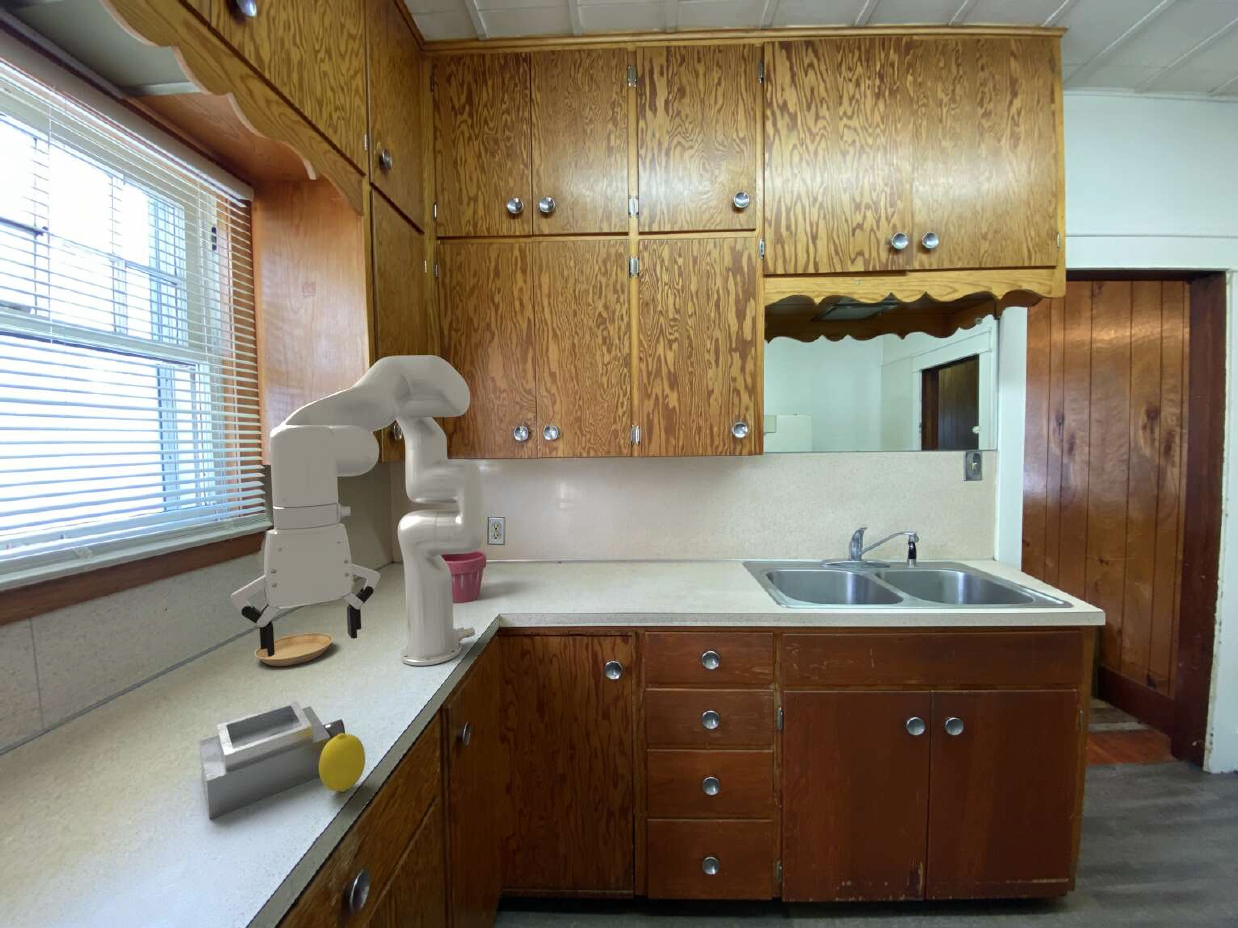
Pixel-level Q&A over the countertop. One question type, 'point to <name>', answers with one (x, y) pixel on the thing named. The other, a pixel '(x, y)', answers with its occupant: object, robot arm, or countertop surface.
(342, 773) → the lemon
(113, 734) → the countertop surface
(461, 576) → the plant pot
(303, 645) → the plant saucer
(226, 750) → the housing
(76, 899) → the countertop surface
